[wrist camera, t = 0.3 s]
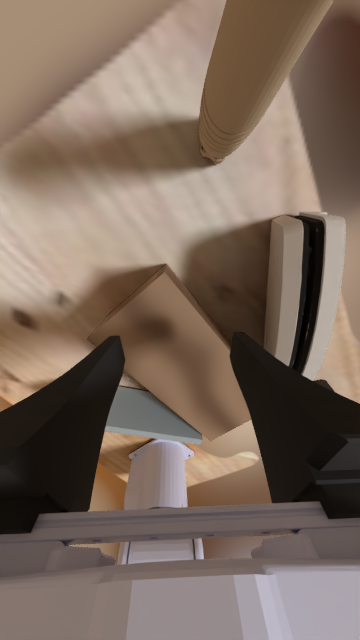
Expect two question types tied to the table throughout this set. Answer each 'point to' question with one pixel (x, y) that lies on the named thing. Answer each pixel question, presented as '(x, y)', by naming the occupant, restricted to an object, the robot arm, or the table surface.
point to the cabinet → (177, 354)
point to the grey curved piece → (303, 288)
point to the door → (148, 418)
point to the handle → (251, 66)
